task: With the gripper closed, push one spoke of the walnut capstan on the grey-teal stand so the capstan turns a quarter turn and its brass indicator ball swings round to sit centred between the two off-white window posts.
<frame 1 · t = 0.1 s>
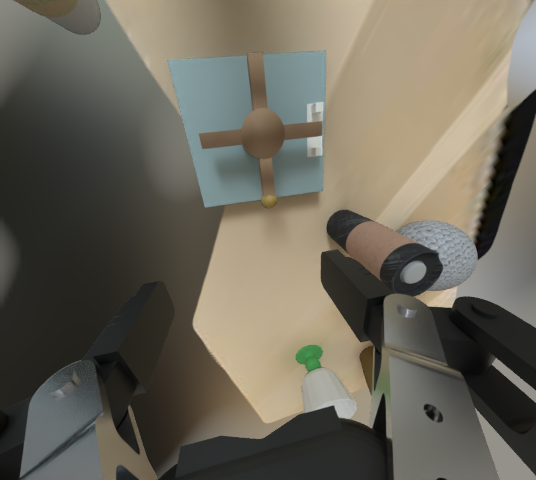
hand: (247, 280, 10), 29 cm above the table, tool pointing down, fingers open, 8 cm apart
capstan: (262, 143, 28), point 6 cm above the table, hinge at 0.0°
decorative ball: (398, 240, 48), on the table
plant pot: (368, 352, 67), on the table
stand: (257, 138, 33), on the table
travel mug: (340, 224, 43), on the table
cup: (308, 353, 61), on the table
coffee cup: (73, 3, 24), on the table
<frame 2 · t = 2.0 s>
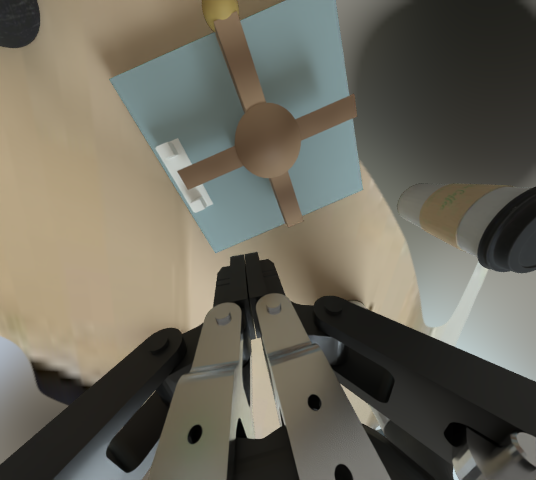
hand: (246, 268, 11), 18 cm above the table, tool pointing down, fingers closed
capstan: (261, 133, 18), point 6 cm above the table, hinge at 0.0°
stand: (258, 146, 24), on the table
coffee cup: (412, 202, 31), on the table
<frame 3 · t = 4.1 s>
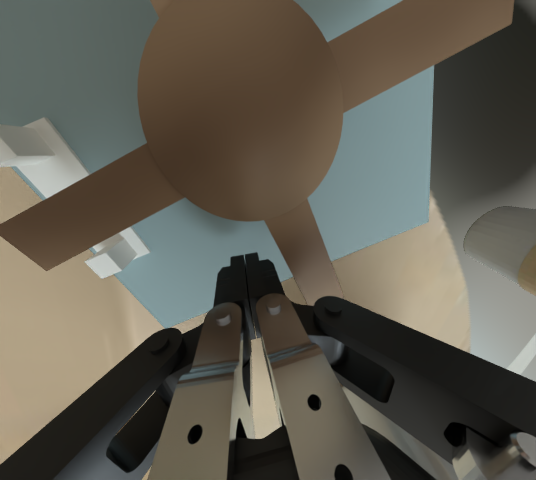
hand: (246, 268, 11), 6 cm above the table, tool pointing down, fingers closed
capstan: (232, 105, 7), point 6 cm above the table, hinge at 5.0°, touching gripper
stand: (241, 141, 13), on the table
coffee cup: (486, 233, 20), on the table
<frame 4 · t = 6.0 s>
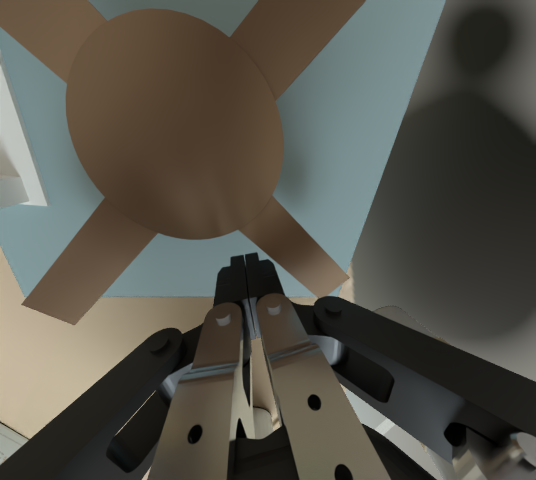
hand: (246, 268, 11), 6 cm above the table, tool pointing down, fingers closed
capstan: (176, 128, 7), point 6 cm above the table, hinge at 51.6°, touching gripper
small box: (1, 440, 22), on the table
stand: (213, 151, 13), on the table
coffee cup: (380, 322, 24), on the table
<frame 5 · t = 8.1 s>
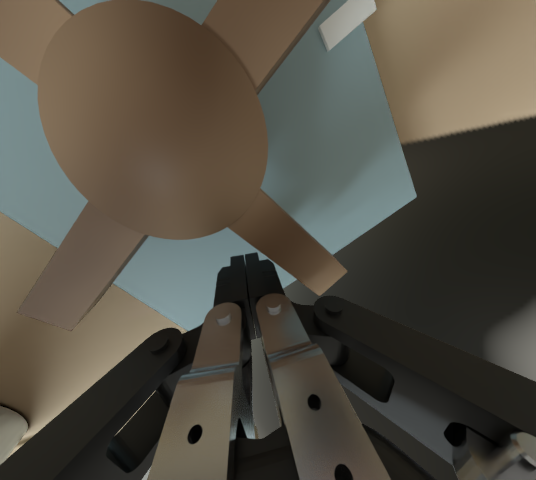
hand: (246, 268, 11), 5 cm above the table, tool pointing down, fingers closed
capstan: (160, 127, 7), point 6 cm above the table, hinge at 100.5°, touching gripper
stand: (205, 150, 13), on the table
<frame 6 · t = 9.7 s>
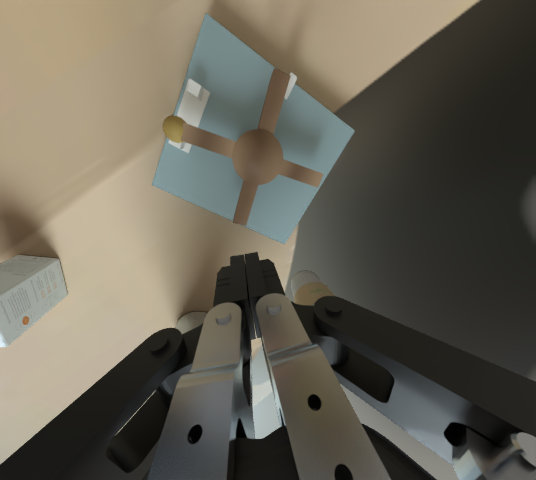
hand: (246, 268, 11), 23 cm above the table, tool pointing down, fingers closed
capstan: (248, 155, 24), point 6 cm above the table, hinge at 100.5°
small box: (46, 274, 33), on the table
stand: (253, 156, 29), on the table
coffee cup: (303, 280, 41), on the table
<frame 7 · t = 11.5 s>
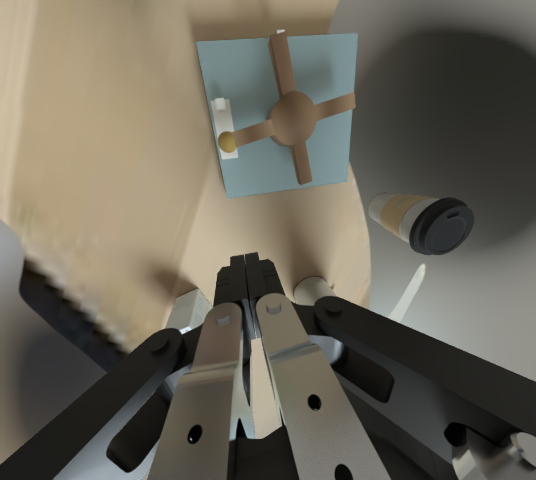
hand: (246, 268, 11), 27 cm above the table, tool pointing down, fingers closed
capstan: (283, 124, 27), point 6 cm above the table, hinge at 100.5°
small box: (196, 303, 44), on the table
stand: (281, 127, 32), on the table
coffee cup: (378, 206, 42), on the table
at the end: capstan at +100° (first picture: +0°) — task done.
